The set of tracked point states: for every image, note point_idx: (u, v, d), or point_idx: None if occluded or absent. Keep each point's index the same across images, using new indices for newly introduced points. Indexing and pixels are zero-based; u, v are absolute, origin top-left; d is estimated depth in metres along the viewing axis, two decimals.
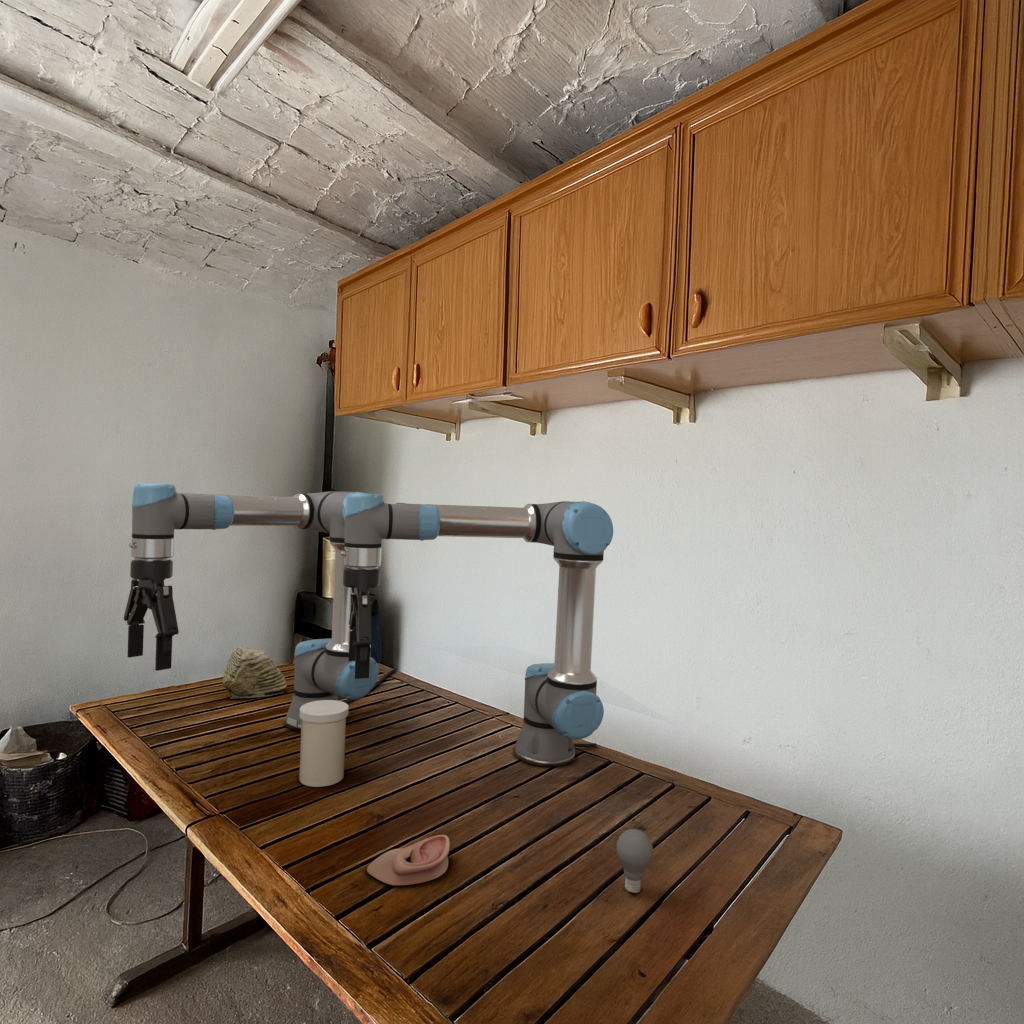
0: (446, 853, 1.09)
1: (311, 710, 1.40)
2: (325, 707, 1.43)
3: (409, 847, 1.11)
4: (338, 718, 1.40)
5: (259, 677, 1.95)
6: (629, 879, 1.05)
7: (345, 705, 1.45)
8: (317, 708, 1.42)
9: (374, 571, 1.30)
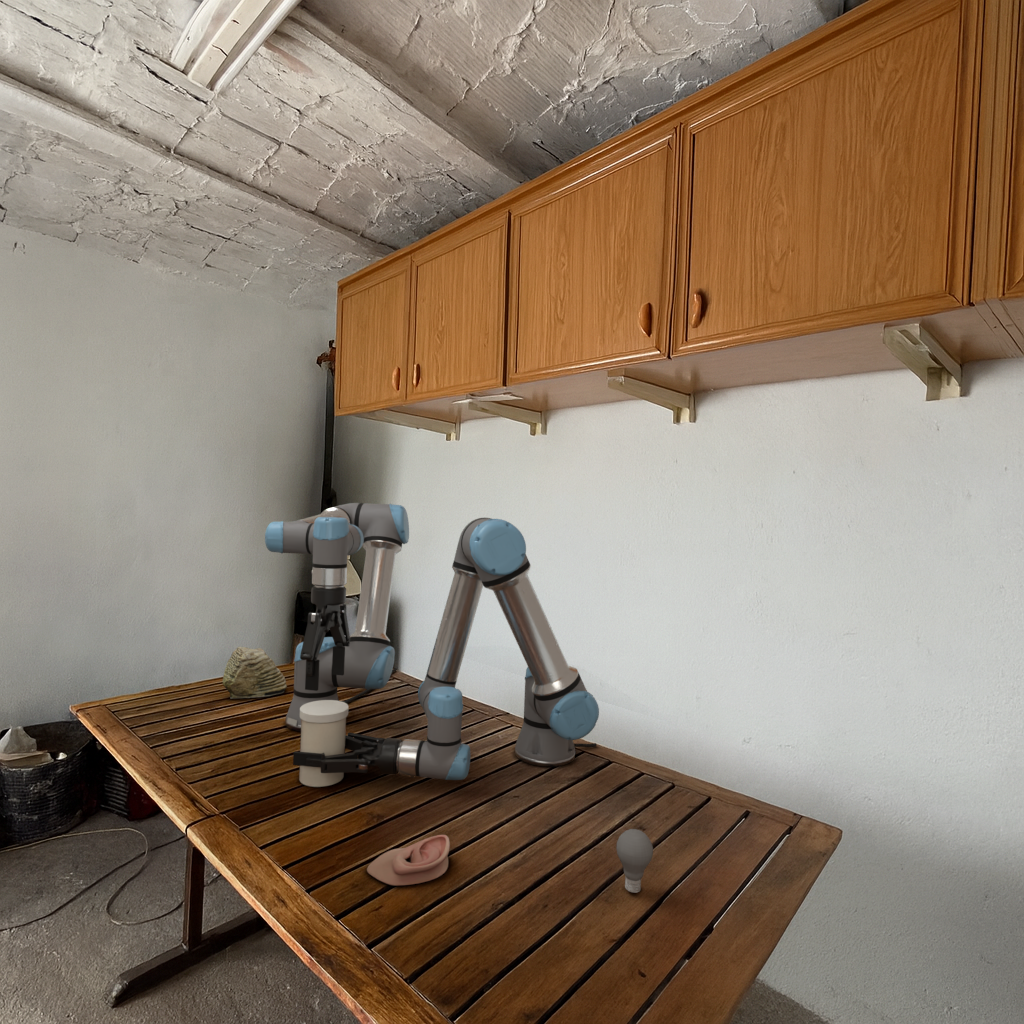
0: (446, 853, 1.09)
1: (311, 710, 1.40)
2: (325, 707, 1.43)
3: (409, 847, 1.11)
4: (339, 718, 1.40)
5: (259, 677, 1.95)
6: (629, 879, 1.05)
7: (345, 705, 1.45)
8: (317, 708, 1.42)
9: None
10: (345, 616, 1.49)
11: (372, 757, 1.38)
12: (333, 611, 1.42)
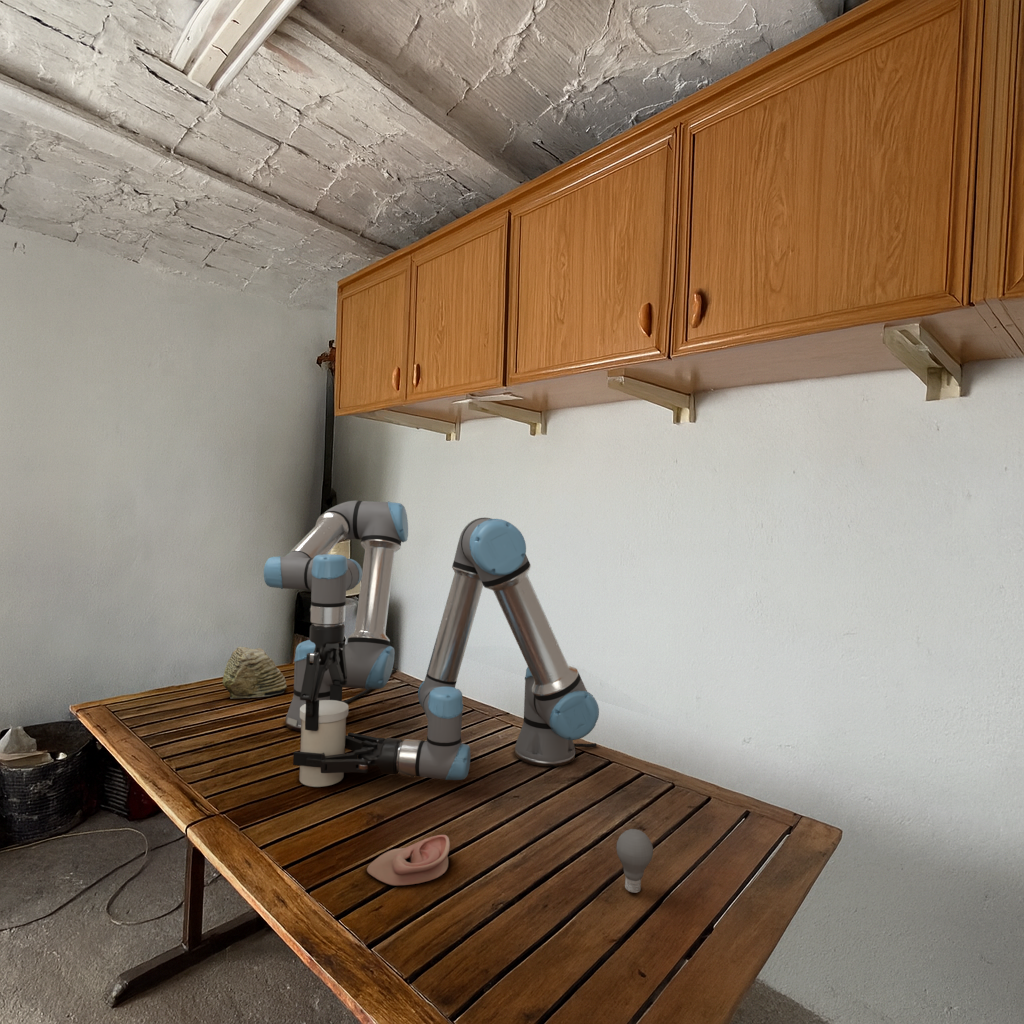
0: (446, 853, 1.09)
1: None
2: (325, 707, 1.43)
3: (409, 847, 1.11)
4: (339, 718, 1.40)
5: (259, 677, 1.95)
6: (629, 879, 1.05)
7: (345, 705, 1.45)
8: None
9: None
10: (343, 653, 1.49)
11: (372, 757, 1.38)
12: (332, 649, 1.43)
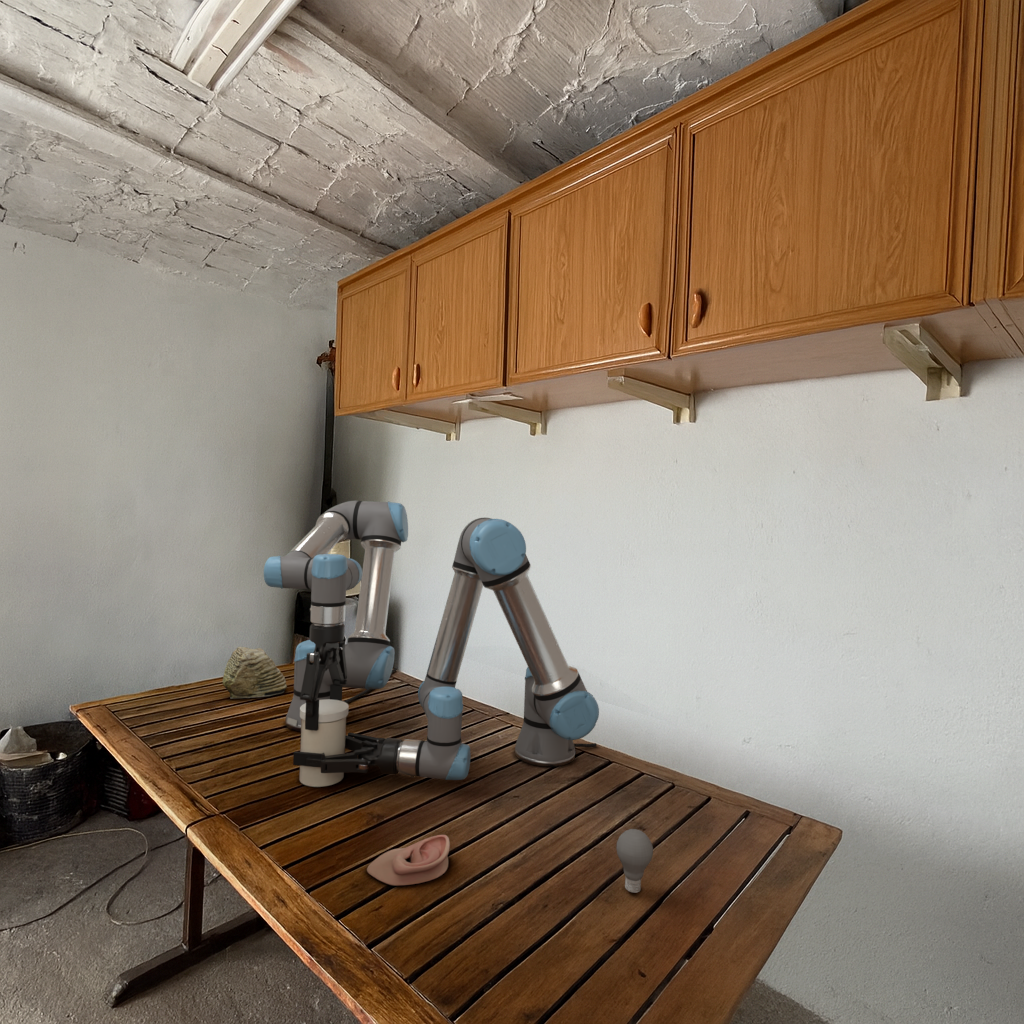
0: (446, 853, 1.09)
1: (330, 710, 1.40)
2: (325, 706, 1.43)
3: (409, 847, 1.11)
4: None
5: (259, 677, 1.95)
6: (629, 879, 1.05)
7: (324, 700, 1.47)
8: (326, 708, 1.41)
9: None
10: (343, 653, 1.49)
11: (372, 757, 1.38)
12: (332, 648, 1.43)
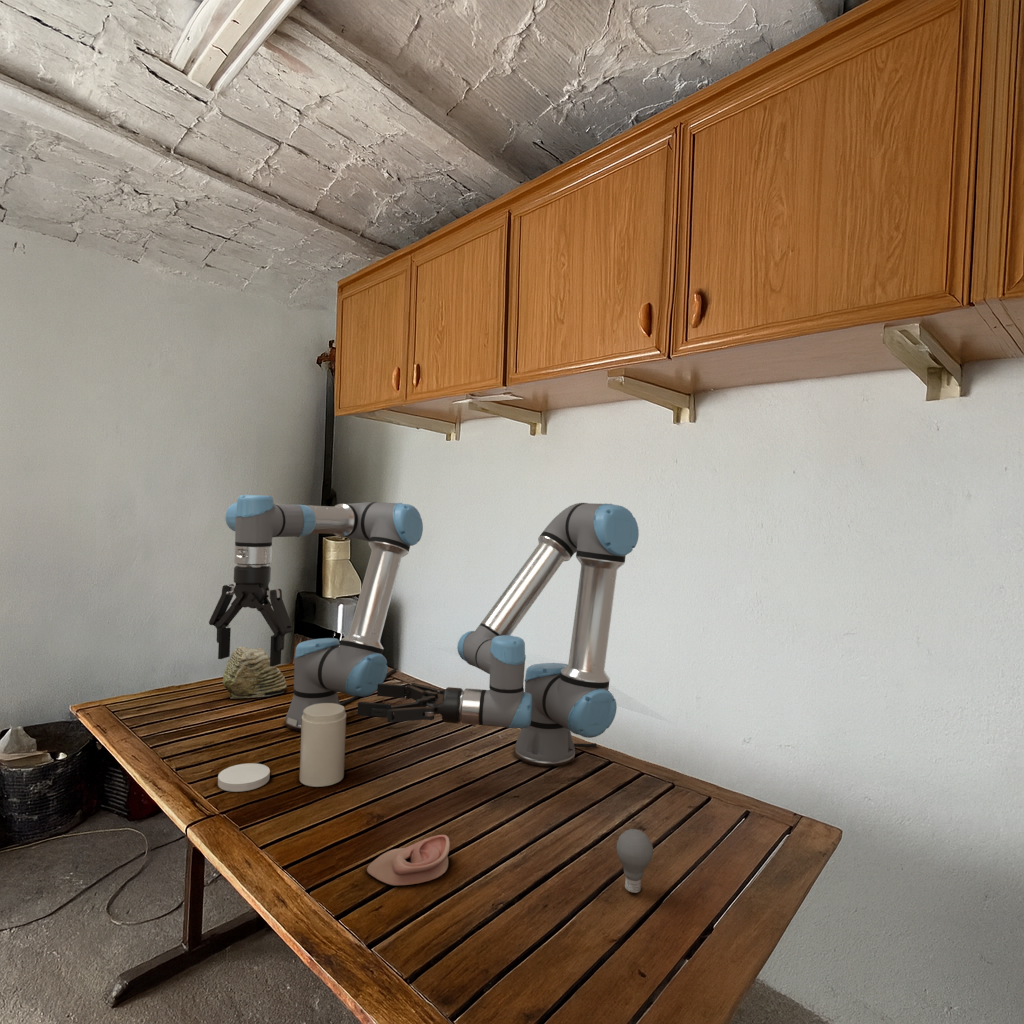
0: (446, 853, 1.09)
1: (259, 773, 1.40)
2: (244, 772, 1.40)
3: (409, 847, 1.11)
4: None
5: (259, 677, 1.95)
6: (629, 879, 1.05)
7: (227, 769, 1.41)
8: (251, 773, 1.39)
9: None
10: None
11: (435, 705, 1.36)
12: None
